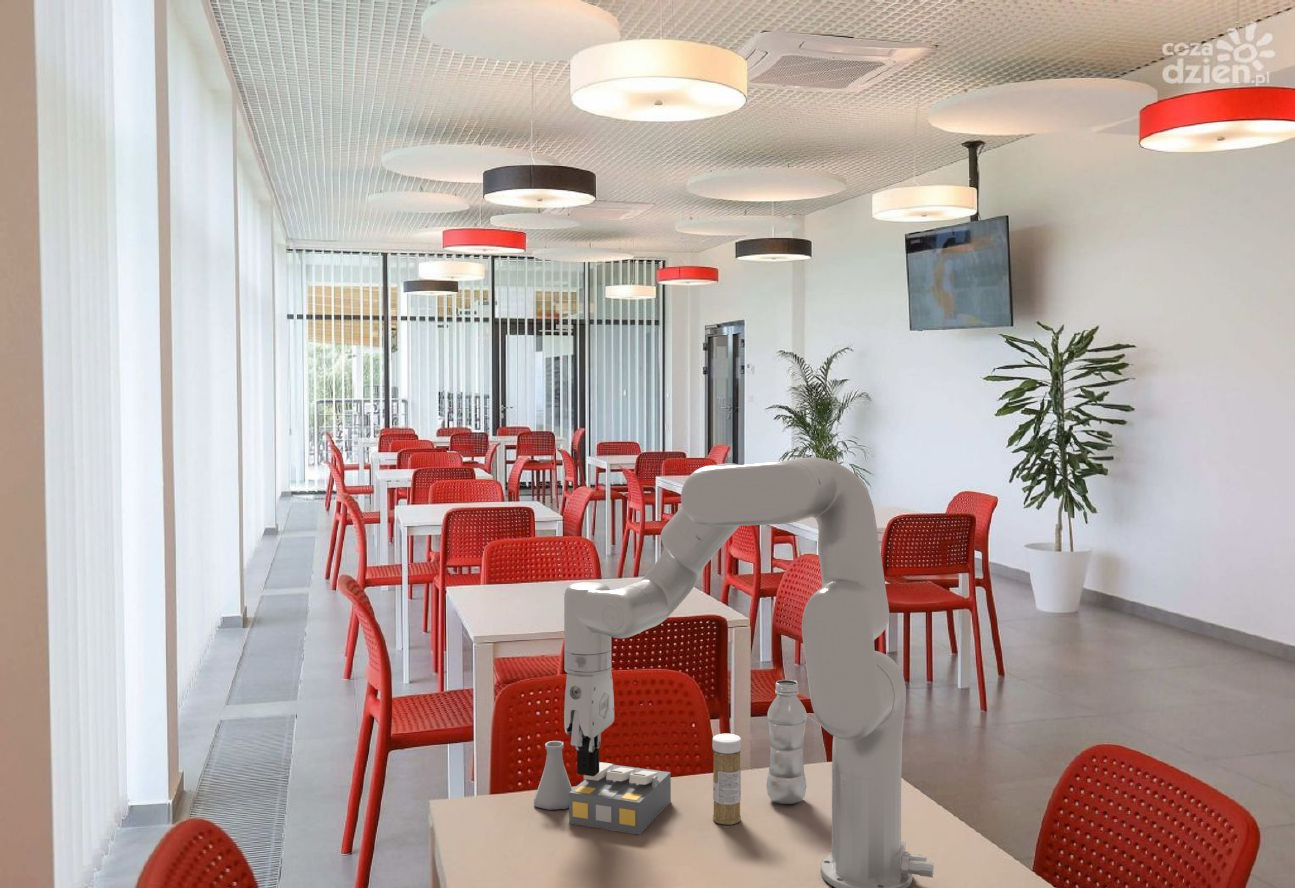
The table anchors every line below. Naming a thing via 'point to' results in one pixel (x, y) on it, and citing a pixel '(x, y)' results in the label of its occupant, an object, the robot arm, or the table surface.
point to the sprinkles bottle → (726, 778)
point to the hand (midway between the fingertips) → (588, 773)
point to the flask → (553, 780)
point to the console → (619, 802)
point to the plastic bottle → (786, 745)
